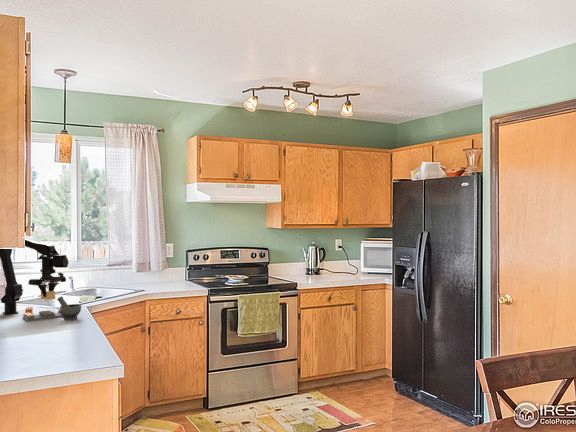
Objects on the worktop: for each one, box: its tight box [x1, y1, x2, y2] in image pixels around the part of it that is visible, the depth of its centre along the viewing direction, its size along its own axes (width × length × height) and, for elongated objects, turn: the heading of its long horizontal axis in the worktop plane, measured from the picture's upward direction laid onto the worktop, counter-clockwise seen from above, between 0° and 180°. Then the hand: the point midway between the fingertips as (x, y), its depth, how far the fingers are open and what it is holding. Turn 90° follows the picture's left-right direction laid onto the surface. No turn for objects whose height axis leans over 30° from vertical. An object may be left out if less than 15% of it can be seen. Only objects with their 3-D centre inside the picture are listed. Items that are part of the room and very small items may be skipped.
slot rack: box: [22, 308, 64, 322], centre depth 264 cm, size 10×20×3 cm, turn 130°
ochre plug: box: [40, 290, 56, 301], centre depth 275 cm, size 9×3×4 cm, turn 60°
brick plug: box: [24, 306, 34, 315], centre depth 270 cm, size 9×3×4 cm, turn 23°
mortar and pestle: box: [57, 295, 82, 322], centre depth 258 cm, size 11×9×12 cm
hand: (47, 296), depth 274 cm, fingers closed on ochre plug, 3 cm apart
